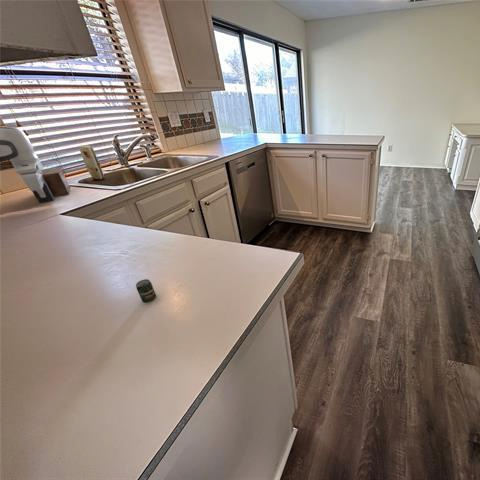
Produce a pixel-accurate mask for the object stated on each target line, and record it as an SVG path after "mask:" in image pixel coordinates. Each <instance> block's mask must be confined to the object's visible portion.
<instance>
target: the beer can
mask: <svg viewBox="0 0 480 480" xmlns="http://www.w3.org/2000/svg"><path fill="white" fill-rule="evenodd" d="M135 288H136V291H137V293H138V295H139V297H140V300H141V302H143V303H150V302H153V301H154V300H155V299H156V298H157V293H156V291H155V288H154V286H153V283H152V282H151V280H150V279H147V278H146V279H141V280H139V281H137V282H136V283H135ZM154 298H155V299H154Z"/></svg>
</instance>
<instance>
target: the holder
mask: <svg viewBox="0 0 480 480" xmlns="http://www.w3.org/2000/svg"><path fill="white" fill-rule="evenodd" d="M43 185H44V186H43V188H42V189H43V191H44V193H45V195H46V197H44V198H41V197H40V195H39V194H38V193H37V191H32V193H33V192H34V193H33V195H34V194H35V195H36V197H37V199H38V200H37V199H36V200H37V201H38V203H39V204H42V203H43V204H44V203H49V202H54V201H55V200H56V199H55V198H56V197H53V195H52V193H51V191H50V189H49V187H48V185H47V183H43ZM35 195H34V196H35ZM36 197H35V198H36Z"/></svg>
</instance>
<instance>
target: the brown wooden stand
mask: <svg viewBox="0 0 480 480" xmlns="http://www.w3.org/2000/svg"><path fill="white" fill-rule="evenodd" d="M41 171H42V176H43V178H44V180H45V183H47V185H48V187H49V189H50V191H51V193H52V195H53V197H54V198H56V197H63V196H69V195H70V192H71V185H70V184H69V182H68V180H67V178H66V175H65V173H64V172H63V169H62V167H56V168H49V169H41ZM32 194H33V195H34V197H35V199H36V200H37V201H38V199H37V197H36V195H35V194H34V192H33V191H32Z"/></svg>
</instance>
